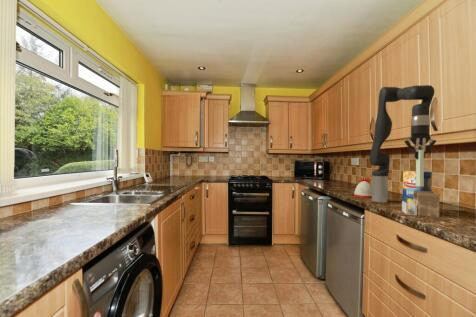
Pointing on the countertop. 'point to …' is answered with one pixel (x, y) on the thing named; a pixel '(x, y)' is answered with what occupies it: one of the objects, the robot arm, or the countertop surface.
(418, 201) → the oak rack
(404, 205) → the small printed carton
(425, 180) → the beverage box
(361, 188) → the kitchen timer
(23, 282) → the countertop surface
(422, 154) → the sage board
